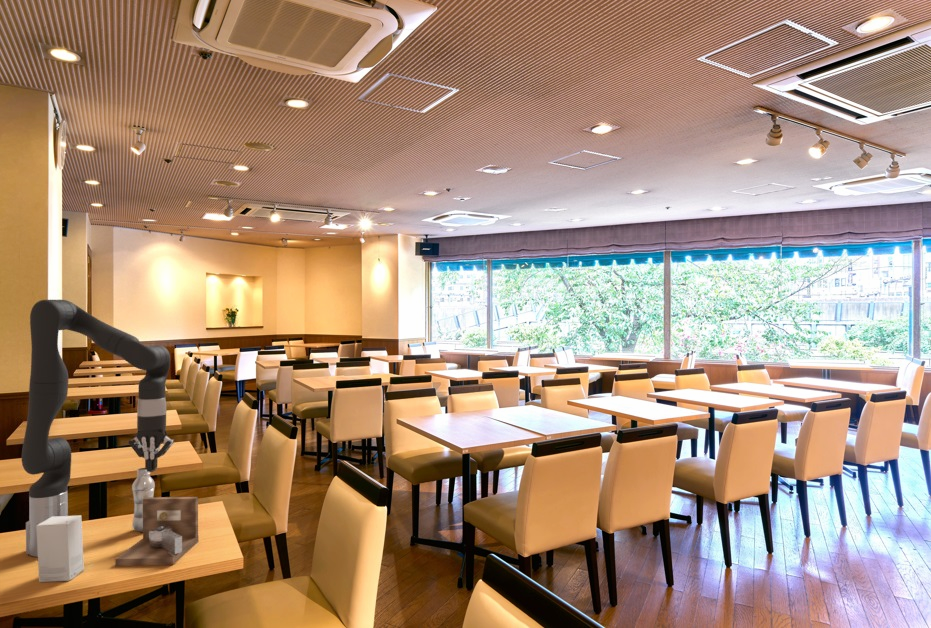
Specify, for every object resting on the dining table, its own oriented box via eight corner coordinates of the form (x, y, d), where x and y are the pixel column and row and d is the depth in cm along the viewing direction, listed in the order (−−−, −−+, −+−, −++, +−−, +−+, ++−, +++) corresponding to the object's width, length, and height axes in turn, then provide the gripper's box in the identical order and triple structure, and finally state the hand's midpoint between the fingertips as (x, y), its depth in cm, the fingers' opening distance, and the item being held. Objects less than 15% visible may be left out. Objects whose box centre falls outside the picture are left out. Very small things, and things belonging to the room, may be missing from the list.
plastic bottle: (145, 534, 180) (145, 472, 179) (127, 532, 181) (127, 471, 181) (160, 526, 186) (159, 466, 186) (142, 525, 187) (142, 465, 187)
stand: (115, 565, 158) (115, 516, 157) (146, 542, 174) (145, 497, 173) (173, 565, 158) (172, 515, 158) (198, 541, 174) (198, 496, 174)
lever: (145, 544, 166) (145, 527, 166) (166, 537, 171) (166, 521, 171) (167, 556, 158) (167, 539, 158) (189, 549, 163) (188, 532, 162)
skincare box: (84, 570, 155) (84, 514, 155) (68, 582, 148) (67, 523, 148) (53, 571, 154) (53, 515, 154) (35, 583, 148) (35, 524, 148)
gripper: (121, 415, 162) (121, 474, 163) (167, 415, 163) (167, 475, 163) (136, 410, 170) (136, 467, 170) (180, 411, 170) (180, 467, 170)
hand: (151, 471), depth 166 cm, fingers closed
